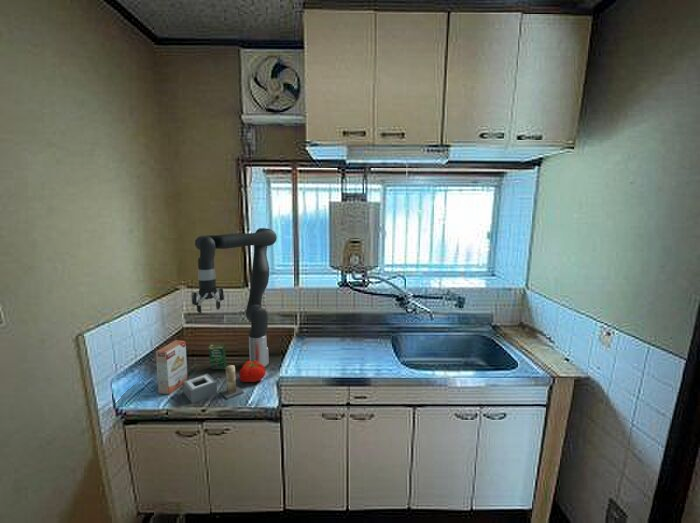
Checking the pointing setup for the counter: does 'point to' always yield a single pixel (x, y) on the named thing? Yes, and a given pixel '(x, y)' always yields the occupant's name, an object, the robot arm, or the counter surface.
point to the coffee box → (217, 356)
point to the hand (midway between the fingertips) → (209, 310)
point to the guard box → (200, 388)
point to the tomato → (252, 371)
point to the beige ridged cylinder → (230, 379)
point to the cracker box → (171, 366)
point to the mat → (230, 395)
